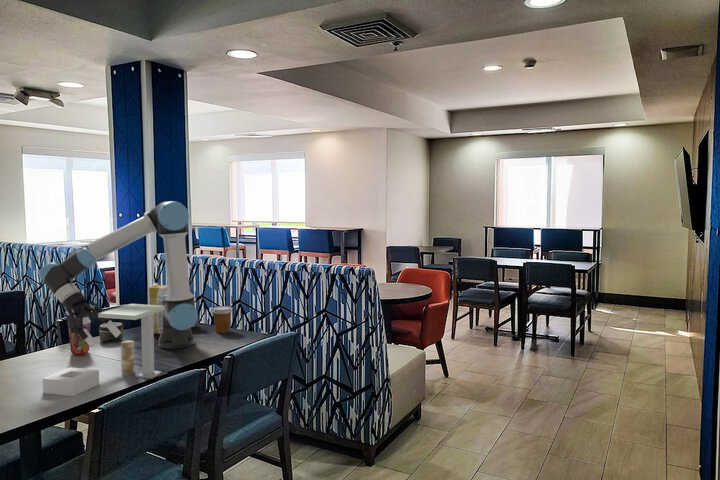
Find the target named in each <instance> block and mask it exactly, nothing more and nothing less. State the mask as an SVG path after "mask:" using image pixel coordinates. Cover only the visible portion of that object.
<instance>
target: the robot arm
mask: <svg viewBox="0 0 720 480" xmlns="http://www.w3.org/2000/svg"><path fill="white" fill-rule="evenodd" d="M189 217H190V214H189V211H188V209H187V208H186V206H185V205H184V204H182V203H181V202H179V201H176V200H168V201H163V202H160V203H159V204H158V205H155V207H153V208H152V209H150V210H148V211H146V212H144V213H143V216H142V217H139V218H137V219H136V220H134V221H132V222H129V223H128V224H125V225H124V226H121V227H119V228H118V229H115V230H114V231H112V232H110V233H108V234H106V235H103V236H101V237H100V238H97V239H96V240H93V241H91V242H90V243H88V244H86V245H84V246H82V247H80V248H76V249H74V250H72V251H71V252H70V253H69V254H68V257H67V258H66V259H65V260H63V261H62V262H60V263H56V262H49V263H48V264H45V265H43V266H42V267H41V268H40V269H39V271H38V276H39V278H40V279H41V281H42V283H44V284H45V286H46V287H47V288H48V289H49V290H50V291H51V293H52V294H53V295H54V296H55V297H56V298H57V299H58V301H59V302H60V303H61V304H62V306H63V307H64V308H65V312H63V314H64V316H65V318H66V319H67V325H68V324H69V327H70V331H71V333H74V334H75V335H78V334H79V335H80V336H81V337H82V339H84V340H85V341H86V342H87V343H88V345H89V348H92V347H93V346H94V345H95V344H96V343H97V341H96V339H95V338H94V337H93V336H92V334H91V333H90V334H89V332H88V331H87V330H86V329H83V318H84V317H88V318H93V319H95V320H97V321H99V322H101V323H102V324H105V323H106V327H107V328H108V329H109V330H110V331H111V333H112V334H113V335H114V336H115V337H118V336H119V335H120V333H121V332H120V331H119V329H118V328H117V327H116V325H115V324H114V323H113V320H114V318H100V317H98V313H101V312H104V311H106V310H104V308H102V307H100V306H99V305H97V304H96V303H95V302H94V301H92V303H90V304H88V302H87V297H85V296H84V294H83V293H82V292H81V291H80V289H79V288H78V287H77V286H76V285H75V283H74V282H73V281H72V280H74V279H76V277H78V276H80V274H83V272H85V271H87V270H88V269H89V268H92V267H93V265H95V264H96V263H97V262H98V261H99V260H100V259H102V258H105V257H106V256H108V255H110V254H112V253H114V252H116V251H118V250H120V249H121V248H124V247H126V246H128V245H130V244H133V243H134V242H135V241H137V240H140V239H142V238H143V237H145V236H147V235H149V234H151V233H158V235H159V237H161V238H162V239H163V249H164V258H165V259H164V260H165V269H166V271H165V272H166V279H167V286H168V292H169V295H164V296H163V297H162V306H165V310H163V311H162V326H163V327H162V332H161V334H159V338H158V347H159V348H161V349H167V350H170V349H171V350H173V349H174V350H176V349H183V348H188V347H191V346H193V345H194V343H195V337H194V335H193V332H192V329H191V328H193V327H192V326H193V325H194V324H195V325H196V322H197V321H198V316H199V314H198V313H199V312H198V310H197V308H196V301H195V295H194V294H193V293H191V290H190V289H191V288H190V279H189V267H188V257H187V255H188V254H187V247H186V236H187V234H189V225H188V223H189V219H190V218H189ZM74 315H75V316H74ZM82 329H83V330H82Z"/></svg>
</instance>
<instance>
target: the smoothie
mask: <svg viewBox="0 0 720 480" xmlns="http://www.w3.org/2000/svg"><path fill="white" fill-rule="evenodd" d="M74 316H75V315H74ZM91 322H92V320H90V317H84V318H83V329H86V330H87V331H88V332H89V334H90V335H91ZM67 325H68V326H67V327H68V336H69V348H70V353H71V354H72V356H74V357H80V356H86V355H88V354H89V351H90V346H89V345H88V343H87V342H86V341H85V340H84V339H82V337H81V336H80V335H79V334H78V335H75V334H74V333H71V331H70V327H69V324H68V323H67ZM83 329H82V330H83Z"/></svg>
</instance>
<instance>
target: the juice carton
mask: <svg viewBox="0 0 720 480" xmlns="http://www.w3.org/2000/svg"><path fill="white" fill-rule="evenodd" d="M164 295H169V292H168V284H167V285H164V284H163V285H162V284H159V283H153V284H152V286H150V287H147V305H160V306H162V297H163V296H164ZM153 324H154V334H155V335H161V332H162V327H163V326H162V311H160V312H157V313H154V314H153Z"/></svg>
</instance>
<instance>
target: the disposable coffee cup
mask: <svg viewBox="0 0 720 480" xmlns="http://www.w3.org/2000/svg"><path fill="white" fill-rule="evenodd" d="M232 311H233V309H232V307H231V306H227V305H221V306H215V307H213V309H212V311H211V312H212V313H213V320H214V321H213V323H214V329H215V333H217V334H227V333H229V332H230V325H231V316H232Z"/></svg>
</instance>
